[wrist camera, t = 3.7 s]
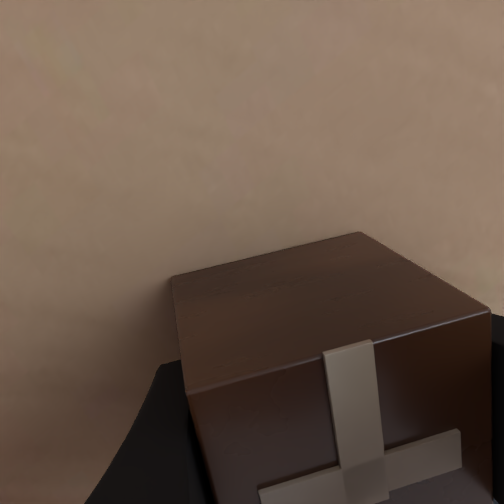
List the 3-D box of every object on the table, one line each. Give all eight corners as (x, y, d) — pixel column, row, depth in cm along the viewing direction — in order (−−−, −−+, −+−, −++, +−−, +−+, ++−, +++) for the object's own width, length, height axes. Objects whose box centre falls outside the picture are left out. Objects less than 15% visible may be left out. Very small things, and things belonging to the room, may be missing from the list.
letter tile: (211, 440, 12) (247, 631, 8) (169, 273, 10) (184, 394, 6) (378, 392, 12) (499, 542, 8) (361, 228, 11) (498, 307, 7)
